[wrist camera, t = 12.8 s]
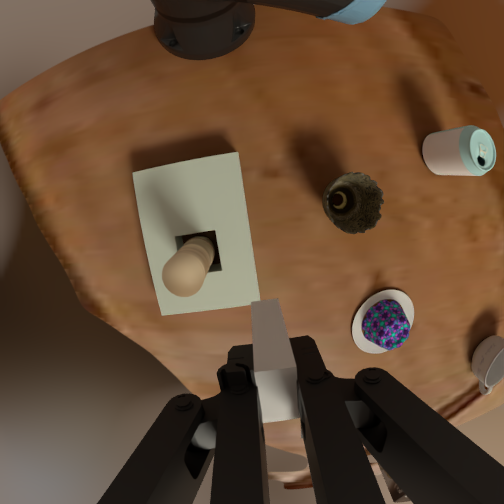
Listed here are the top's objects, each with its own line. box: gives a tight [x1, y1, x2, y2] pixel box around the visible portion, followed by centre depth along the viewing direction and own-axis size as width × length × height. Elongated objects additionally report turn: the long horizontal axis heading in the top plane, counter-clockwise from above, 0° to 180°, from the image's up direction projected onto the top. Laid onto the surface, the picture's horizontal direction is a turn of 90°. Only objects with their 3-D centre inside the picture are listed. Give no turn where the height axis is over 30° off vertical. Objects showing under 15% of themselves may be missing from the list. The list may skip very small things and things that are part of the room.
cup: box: [322, 172, 384, 234], centre depth 37 cm, size 8×7×8 cm
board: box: [133, 152, 260, 315], centre depth 39 cm, size 20×14×4 cm
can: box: [422, 125, 496, 176], centre depth 33 cm, size 7×7×12 cm
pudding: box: [352, 290, 414, 353], centre depth 43 cm, size 12×12×5 cm
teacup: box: [472, 335, 504, 395], centre depth 45 cm, size 14×11×8 cm
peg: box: [162, 236, 215, 297], centre depth 35 cm, size 4×4×14 cm
